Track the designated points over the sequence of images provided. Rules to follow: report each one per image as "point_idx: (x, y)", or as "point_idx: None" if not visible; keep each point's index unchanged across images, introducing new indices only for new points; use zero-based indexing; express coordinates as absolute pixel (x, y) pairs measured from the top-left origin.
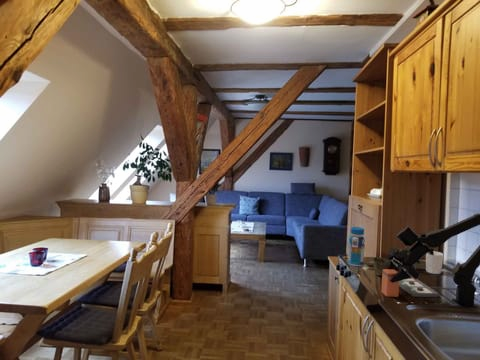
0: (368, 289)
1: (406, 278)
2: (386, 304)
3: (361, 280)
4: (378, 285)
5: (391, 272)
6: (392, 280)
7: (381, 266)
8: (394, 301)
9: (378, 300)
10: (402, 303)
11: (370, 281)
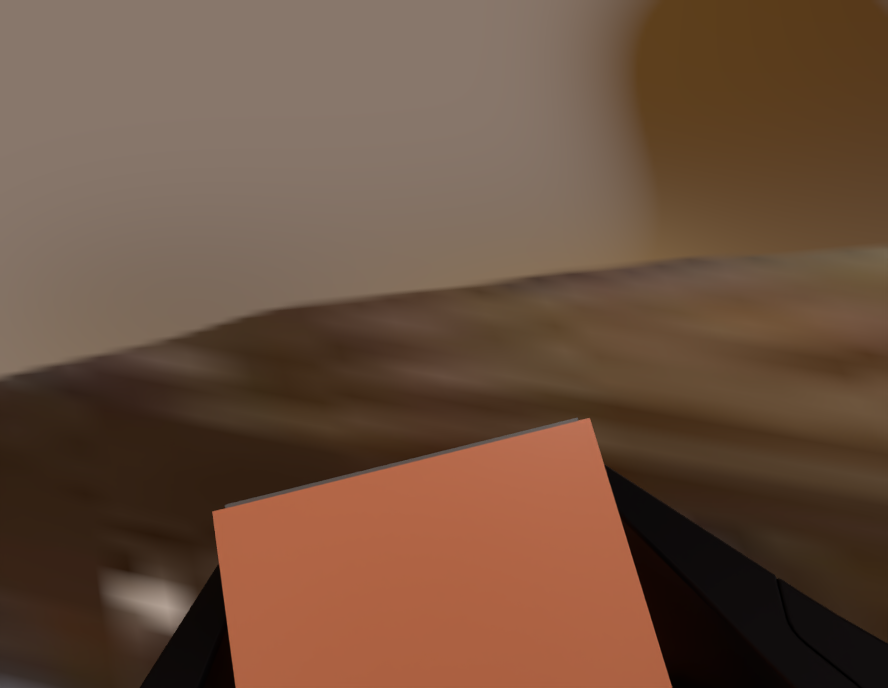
0: (504, 298)
1: None
2: (66, 430)
3: (780, 265)
4: (693, 449)
5: (334, 662)
6: (206, 608)
7: None
8: (181, 559)
9: (177, 356)
10: (130, 662)
11: (796, 369)
